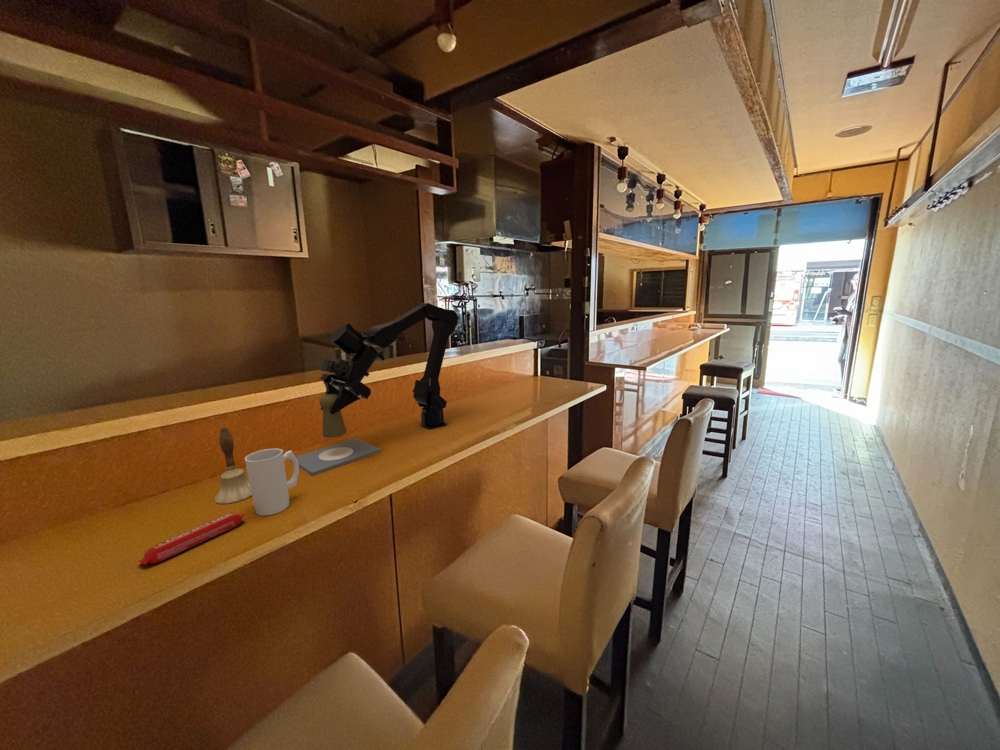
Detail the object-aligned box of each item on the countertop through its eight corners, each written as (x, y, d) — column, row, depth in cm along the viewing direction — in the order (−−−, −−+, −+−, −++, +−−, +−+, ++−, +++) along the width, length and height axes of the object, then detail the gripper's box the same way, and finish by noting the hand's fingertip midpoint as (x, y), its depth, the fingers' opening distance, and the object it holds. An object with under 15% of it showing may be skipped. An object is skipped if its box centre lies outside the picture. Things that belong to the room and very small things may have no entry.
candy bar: (239, 519, 81) (236, 506, 80) (248, 524, 79) (246, 510, 78) (137, 565, 68) (134, 549, 67) (145, 573, 66) (141, 556, 65)
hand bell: (205, 500, 88) (191, 432, 85) (241, 484, 96) (229, 420, 93) (231, 506, 85) (217, 436, 82) (266, 489, 93) (255, 423, 90)
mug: (264, 520, 80) (254, 464, 77) (248, 511, 83) (238, 457, 81) (311, 498, 88) (304, 446, 85) (294, 490, 91) (287, 441, 89)
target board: (355, 440, 122) (355, 438, 122) (380, 451, 113) (380, 448, 112) (290, 461, 108) (290, 458, 108) (312, 475, 99) (312, 472, 99)
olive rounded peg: (319, 438, 106) (313, 398, 104) (327, 430, 112) (321, 392, 110) (342, 436, 106) (337, 396, 104) (349, 429, 112) (344, 391, 110)
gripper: (322, 345, 113) (287, 391, 108) (354, 349, 101) (317, 401, 95) (352, 367, 121) (320, 411, 115) (385, 374, 108) (352, 424, 102)
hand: (326, 411), depth 107 cm, fingers closed on olive rounded peg, 5 cm apart
